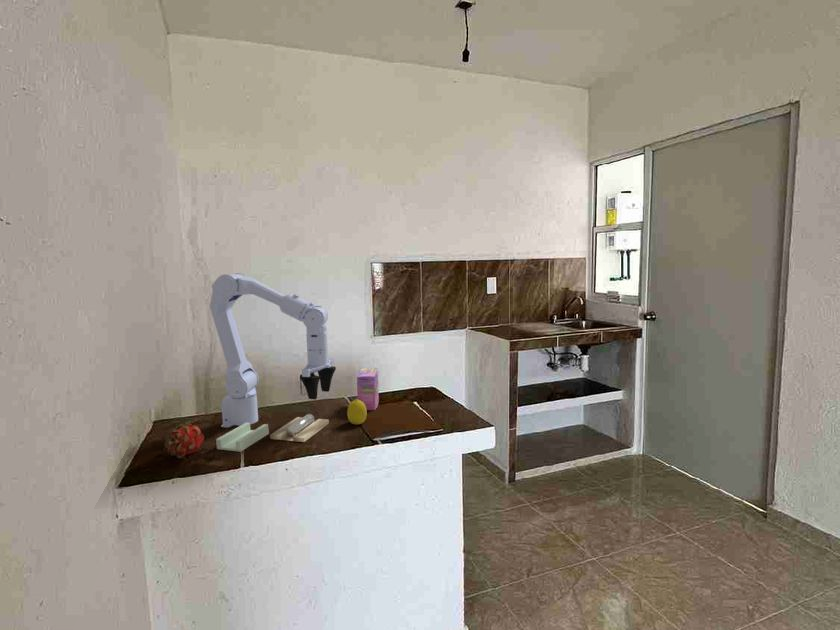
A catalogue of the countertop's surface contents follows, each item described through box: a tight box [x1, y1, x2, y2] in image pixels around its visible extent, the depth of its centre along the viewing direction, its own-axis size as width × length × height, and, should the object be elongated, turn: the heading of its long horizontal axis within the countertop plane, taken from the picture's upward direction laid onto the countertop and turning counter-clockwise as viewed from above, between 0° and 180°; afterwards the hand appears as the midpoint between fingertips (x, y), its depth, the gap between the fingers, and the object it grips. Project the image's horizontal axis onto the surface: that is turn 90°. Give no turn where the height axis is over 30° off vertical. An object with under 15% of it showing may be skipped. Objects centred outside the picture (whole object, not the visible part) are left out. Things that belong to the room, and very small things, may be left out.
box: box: [356, 367, 380, 411], centre depth 150 cm, size 10×6×12 cm, turn 179°
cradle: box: [215, 423, 270, 453], centre depth 123 cm, size 7×12×4 cm, turn 164°
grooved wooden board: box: [269, 416, 330, 443], centre depth 130 cm, size 10×14×2 cm
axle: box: [286, 413, 315, 437], centre depth 130 cm, size 10×3×3 cm, turn 164°
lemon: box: [347, 398, 368, 426], centre depth 135 cm, size 6×6×8 cm
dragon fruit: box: [163, 422, 205, 459], centre depth 118 cm, size 8×8×12 cm
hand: (319, 395), depth 137 cm, fingers open, 7 cm apart
